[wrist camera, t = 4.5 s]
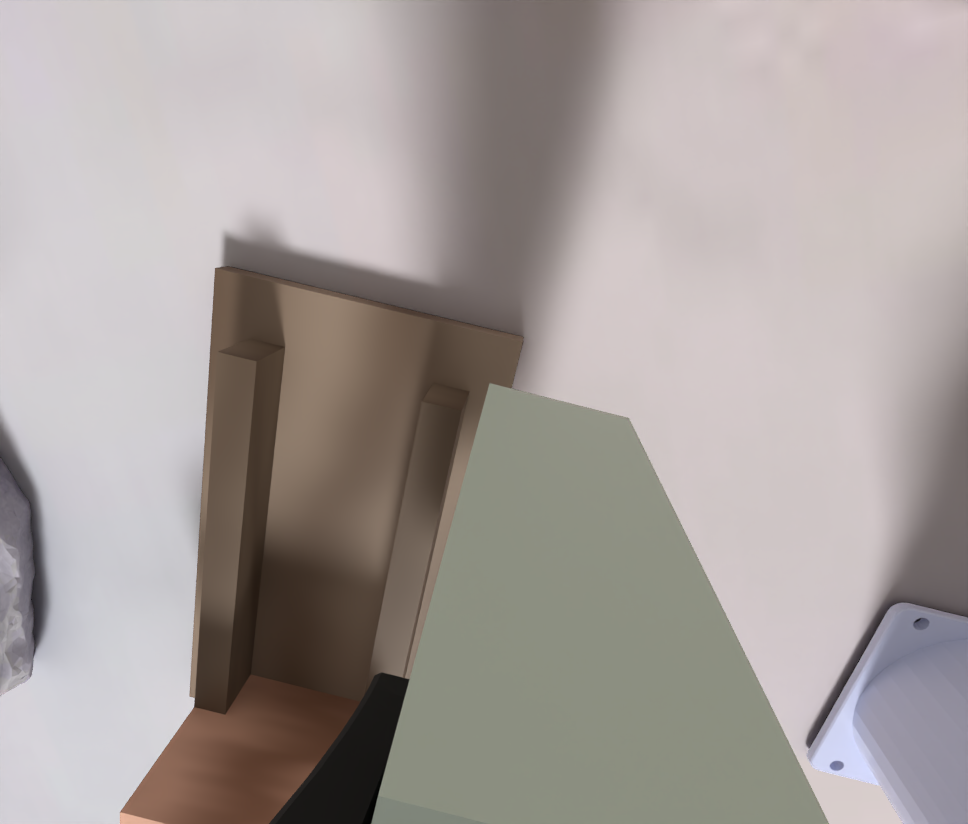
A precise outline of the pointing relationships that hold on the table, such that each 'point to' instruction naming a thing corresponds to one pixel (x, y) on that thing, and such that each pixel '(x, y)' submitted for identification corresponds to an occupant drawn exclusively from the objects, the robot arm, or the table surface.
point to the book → (580, 650)
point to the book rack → (313, 529)
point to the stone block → (15, 584)
